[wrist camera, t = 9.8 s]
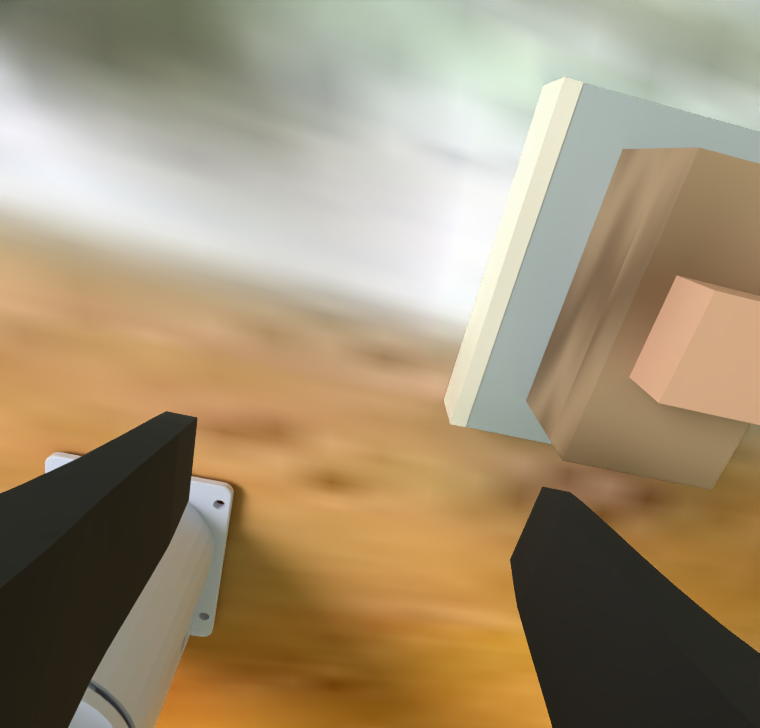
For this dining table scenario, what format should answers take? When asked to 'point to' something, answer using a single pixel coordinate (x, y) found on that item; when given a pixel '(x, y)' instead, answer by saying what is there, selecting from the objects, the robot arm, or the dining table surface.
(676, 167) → the pallet
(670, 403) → the tan square block
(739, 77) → the dining table surface
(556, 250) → the dock
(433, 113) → the dining table surface
